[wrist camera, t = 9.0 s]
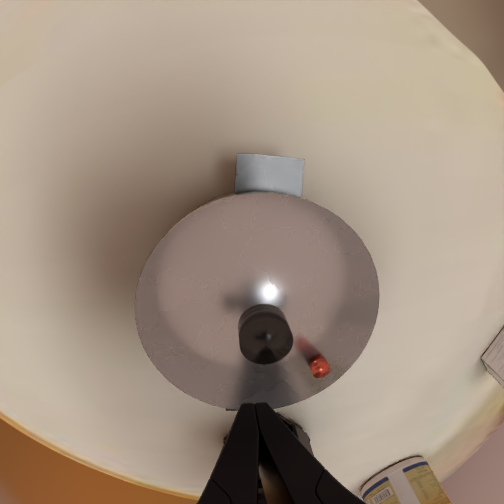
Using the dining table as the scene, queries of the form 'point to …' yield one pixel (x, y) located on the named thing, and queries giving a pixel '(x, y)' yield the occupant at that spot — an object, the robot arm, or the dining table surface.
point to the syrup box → (495, 358)
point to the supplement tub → (405, 485)
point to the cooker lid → (257, 300)
